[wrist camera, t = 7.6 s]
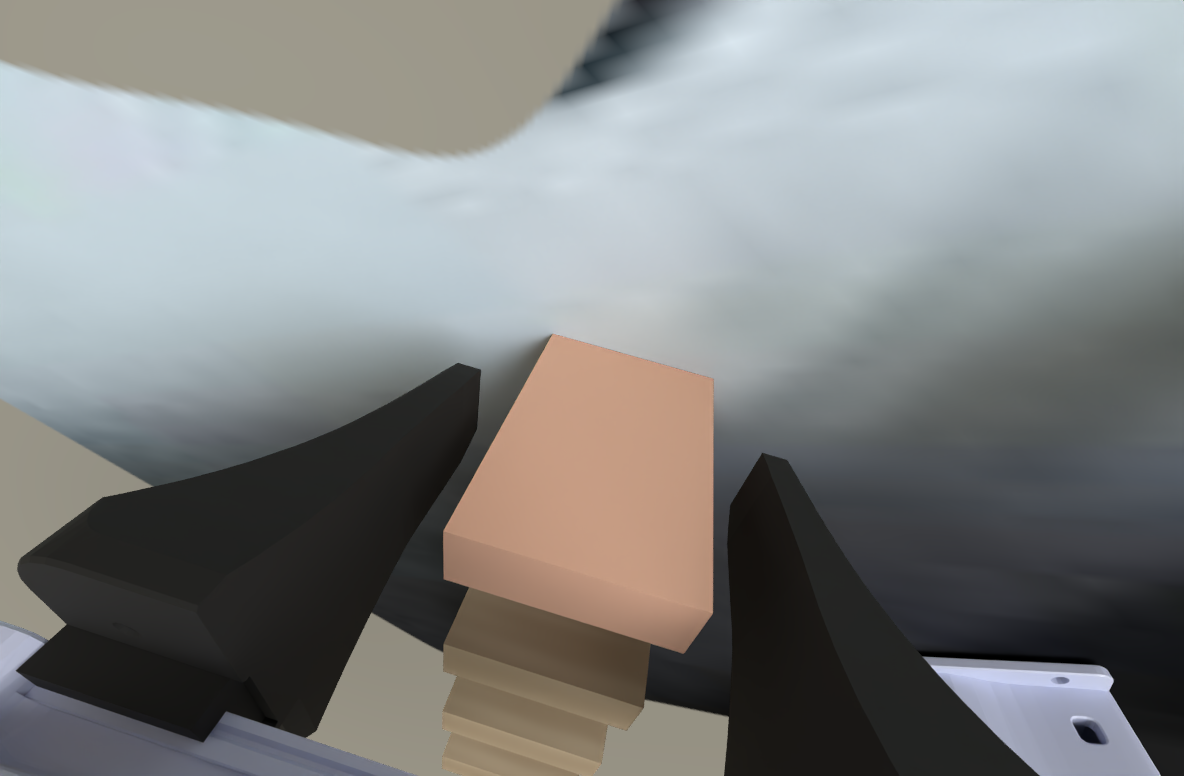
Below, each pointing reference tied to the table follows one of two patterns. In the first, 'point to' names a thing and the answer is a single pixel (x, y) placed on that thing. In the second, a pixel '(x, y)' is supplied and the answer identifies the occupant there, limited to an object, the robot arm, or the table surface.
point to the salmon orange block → (597, 497)
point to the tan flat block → (525, 727)
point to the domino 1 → (548, 658)
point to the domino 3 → (491, 760)
